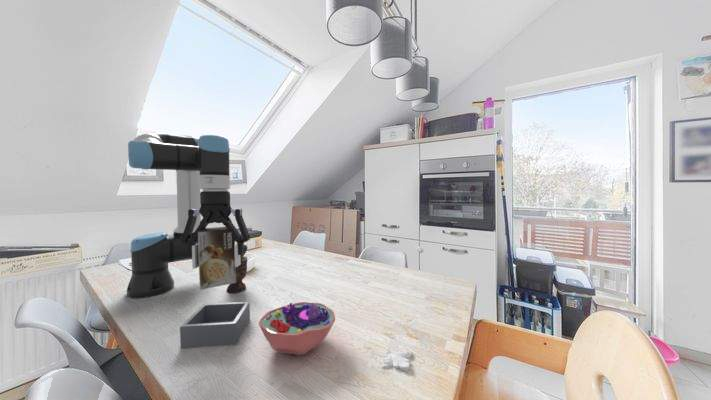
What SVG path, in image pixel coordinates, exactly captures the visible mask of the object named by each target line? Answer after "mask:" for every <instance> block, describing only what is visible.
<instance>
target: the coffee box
mask: <svg viewBox="0 0 711 400" xmlns="http://www.w3.org/2000/svg"><path fill="white" fill-rule="evenodd" d="M232 230H234V229H227V228H226V226H219V227H218V226H217V227H216V226H215V227H206V228H205V229H202V230H198V254H199V267H198V276H199V289H200V290H206V289H212V288H216V287H221V286H225V285H227V286H228V285H230V284H232V283H236V267H235V252H234V245H235V244H236V241H235V239H234V238H233V236H232Z"/></svg>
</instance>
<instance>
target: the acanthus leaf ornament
mask: <svg viewBox="0 0 711 400" xmlns="http://www.w3.org/2000/svg"><path fill="white" fill-rule="evenodd" d="M385 354H386V355H387V357H385V359H384V360H383V364H382V366H381V367H380V369H382V370H384V369H390V368H392V367H393V368H394V370H398V369H400V370H401V371H403V370H405V371H404V372H408V371H409V370H410V366H411V364H410V359H411V357H412V356H413V351H408V350H405V351H399V352H391V350H386V351H385Z"/></svg>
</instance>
